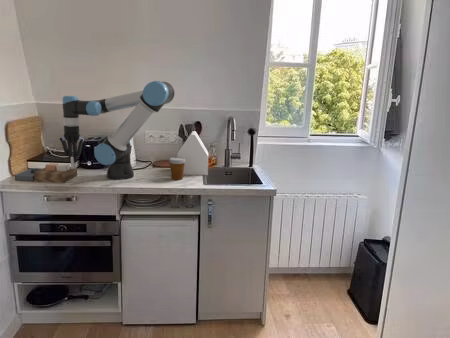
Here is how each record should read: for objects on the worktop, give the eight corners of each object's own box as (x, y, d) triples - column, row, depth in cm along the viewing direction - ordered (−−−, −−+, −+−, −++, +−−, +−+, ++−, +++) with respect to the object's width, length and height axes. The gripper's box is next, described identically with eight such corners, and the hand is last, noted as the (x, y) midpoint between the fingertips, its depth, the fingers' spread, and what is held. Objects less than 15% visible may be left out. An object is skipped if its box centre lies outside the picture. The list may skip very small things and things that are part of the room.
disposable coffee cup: (176, 181, 199) (176, 161, 196) (165, 178, 205) (165, 158, 202) (188, 179, 206) (189, 159, 203) (178, 175, 212) (178, 156, 209)
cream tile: (70, 169, 196) (69, 164, 195) (65, 171, 191) (65, 165, 190) (61, 168, 196) (60, 163, 195) (56, 170, 191) (56, 165, 190)
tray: (49, 174, 203) (48, 169, 202) (33, 181, 187) (33, 176, 186) (31, 173, 203) (31, 168, 202) (15, 180, 187) (14, 175, 187)
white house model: (207, 169, 232) (209, 131, 226) (207, 175, 217) (209, 135, 211) (178, 168, 231) (179, 130, 225) (176, 174, 216) (177, 133, 210)
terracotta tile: (59, 168, 196) (59, 163, 195) (54, 170, 191) (54, 165, 190) (50, 168, 196) (50, 163, 195) (45, 170, 191) (45, 164, 191)
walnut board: (77, 175, 202) (77, 167, 201) (64, 183, 187) (63, 173, 186) (49, 174, 203) (49, 165, 202) (34, 181, 187) (33, 172, 186)
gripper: (86, 125, 191) (88, 167, 197) (62, 123, 191) (65, 166, 197) (80, 126, 184) (82, 170, 189) (55, 125, 184) (58, 169, 190)
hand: (73, 168), depth 193 cm, fingers closed
